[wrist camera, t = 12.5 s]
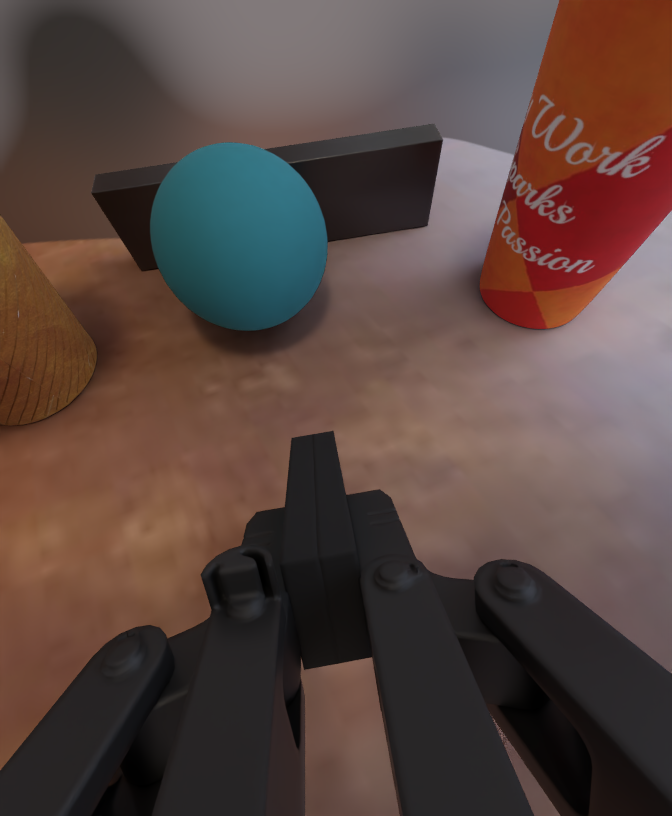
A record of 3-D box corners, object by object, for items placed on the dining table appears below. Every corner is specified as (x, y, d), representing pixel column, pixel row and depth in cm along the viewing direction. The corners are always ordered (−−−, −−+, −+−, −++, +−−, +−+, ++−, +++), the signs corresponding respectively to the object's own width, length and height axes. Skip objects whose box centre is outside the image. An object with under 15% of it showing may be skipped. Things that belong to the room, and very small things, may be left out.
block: (420, 209, 25) (434, 123, 20) (427, 225, 24) (443, 139, 20) (142, 253, 24) (94, 174, 20) (141, 271, 23) (90, 193, 19)
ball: (356, 185, 13) (357, 324, 21) (272, 79, 17) (298, 232, 24) (137, 268, 12) (219, 384, 20) (91, 138, 16) (176, 279, 23)
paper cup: (438, 257, 23) (537, -168, 10) (559, 230, 23) (792, -205, 11) (496, 363, 19) (758, -94, 7) (637, 328, 20) (1124, -155, 7)
